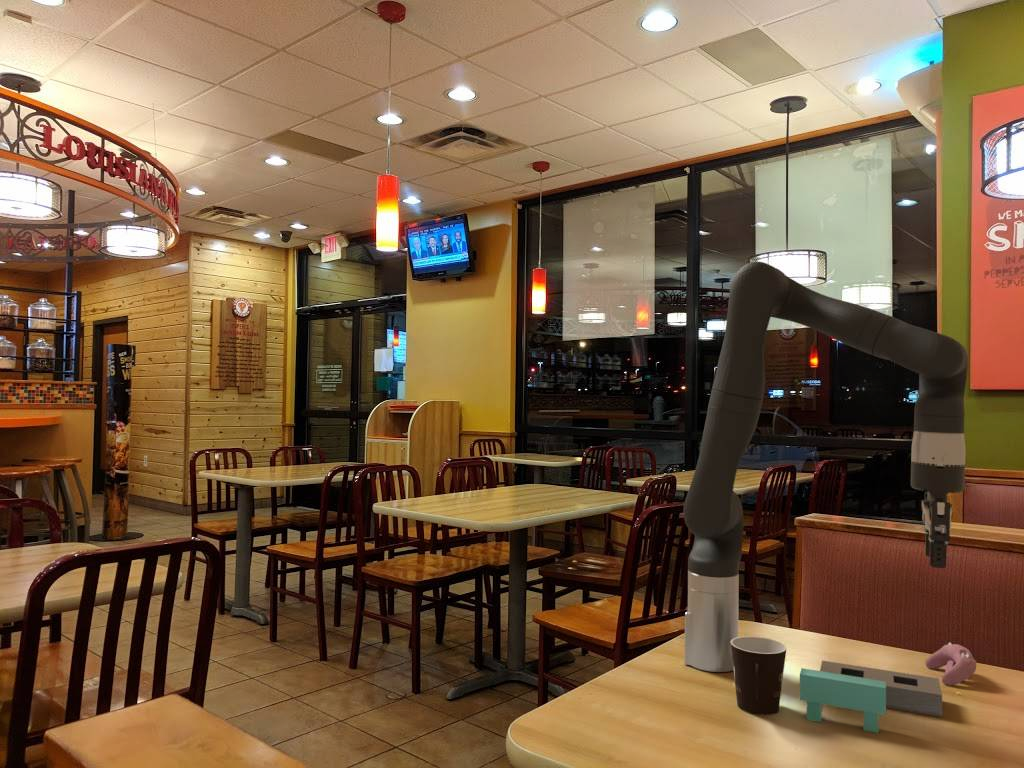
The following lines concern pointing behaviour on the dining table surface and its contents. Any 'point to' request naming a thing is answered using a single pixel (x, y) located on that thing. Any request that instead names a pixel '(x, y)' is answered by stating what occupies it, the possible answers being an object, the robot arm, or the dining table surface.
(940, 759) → the dining table surface
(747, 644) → the coffee mug
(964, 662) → the video game controller
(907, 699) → the slotted rail
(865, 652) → the dining table surface
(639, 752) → the dining table surface
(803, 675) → the two prong clip
